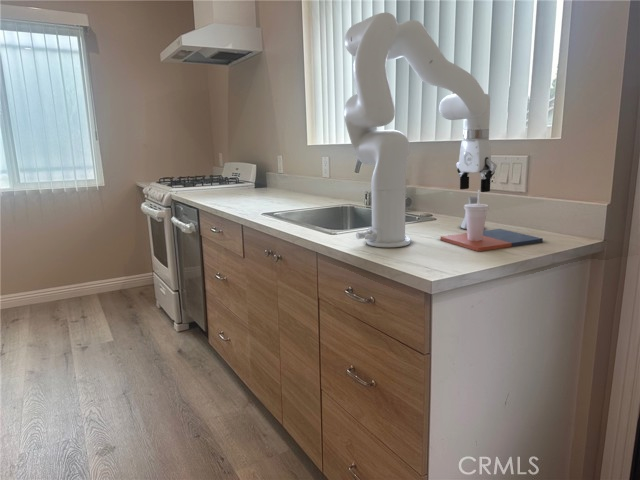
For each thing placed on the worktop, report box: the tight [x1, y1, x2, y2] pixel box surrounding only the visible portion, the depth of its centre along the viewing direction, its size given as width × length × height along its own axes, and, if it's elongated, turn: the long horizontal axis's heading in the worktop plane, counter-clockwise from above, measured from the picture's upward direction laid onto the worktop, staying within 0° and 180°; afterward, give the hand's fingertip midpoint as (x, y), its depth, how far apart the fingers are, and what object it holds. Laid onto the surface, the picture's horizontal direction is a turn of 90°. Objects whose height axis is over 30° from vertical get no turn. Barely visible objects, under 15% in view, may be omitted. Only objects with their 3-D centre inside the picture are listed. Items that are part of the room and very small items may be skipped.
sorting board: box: [440, 228, 544, 252], centre depth 122 cm, size 22×16×1 cm
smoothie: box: [463, 188, 489, 241], centre depth 119 cm, size 6×6×14 cm
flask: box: [460, 196, 478, 230], centre depth 140 cm, size 7×7×10 cm
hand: (474, 190), depth 138 cm, fingers open, 9 cm apart
